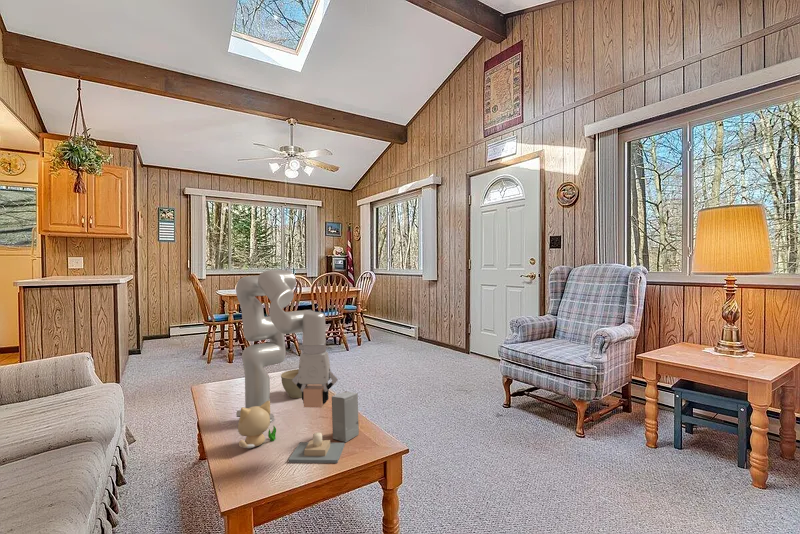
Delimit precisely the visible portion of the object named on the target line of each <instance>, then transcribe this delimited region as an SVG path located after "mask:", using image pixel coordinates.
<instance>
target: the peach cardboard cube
mask: <svg viewBox="0 0 800 534" xmlns="http://www.w3.org/2000/svg"><path fill="white" fill-rule="evenodd" d="M323 391H324V389H323V387H322V384H308V385H307V386H306V387H305V388H304V389H303V392H304V404H303V408H319V409H321V408H322V407H324V405H325V404H323Z"/></svg>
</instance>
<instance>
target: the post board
mask: <svg viewBox="0 0 800 534" xmlns="http://www.w3.org/2000/svg"><path fill="white" fill-rule="evenodd" d="M312 434H313V435H312V439H310V440H309V441H307V442H306V441H300V442H299V443H298V444H297V446H296V447H295V449H294V450H293V452H292V454H291V455H290V457H289V458H288V463H292V464H293V463H295V464H296V463H299V464H303V463H305V464H338V462H339V460H340V458H341V455H342V453H343V450H344V448H345V445H346V443H345V442H331V439H323V433H322V432H315V433H312Z"/></svg>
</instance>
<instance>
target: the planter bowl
mask: <svg viewBox="0 0 800 534" xmlns="http://www.w3.org/2000/svg"><path fill="white" fill-rule="evenodd" d="M298 371H299V368H296V369H291V370H287V371H284V372H282V373H281V374H280V378H281V384H282V387H283V389H284V391H285V393H287V396H288V397H289V398H290V399H291V398H292V399H302V392H301V391H300V389H299V388H298V387H297V385H296V384H295V383H294V382H293V381H292V379H293V378H294V377H295V376H296V375H297V374H298Z"/></svg>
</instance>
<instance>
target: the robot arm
mask: <svg viewBox="0 0 800 534" xmlns="http://www.w3.org/2000/svg"><path fill="white" fill-rule="evenodd" d="M296 285H297V278H296V276H295V274H294V272H292V271H290V270H289V269H288V270H287V269H279V270H278V269H277V270H275V269H271V270H265V271H263V272H261V273H259V275H246V276H243V277H240V278H239V279H238V280H237V282H236V286H235V292H236V298H237V300H238V303H239V307H240V309H241V318H242V319H241V320H242V330H243V331H242V332H243V336H244V339H245V340H246V341H248V342H258V341H265V340H269V341H268V342H264V343H256V344H251V345H249V346H247V347H245V348H244V350H242V354H241V361H242V365H243V371H244V394H245V395H244V405H245V407H244V408H250V407H254V406H261V405H262V404H264V403H265V402H266V401H270V402H271V400H270V399H271V397H270V396H271V392H270V391H271V390H270V389H271V387H270V386H271V385H270V376H269V375H270V374H269V373H268V371H266V370H265V368H266V367H268V366H274V365H278V364H280V363H282V362H284V361H285V359H286V341H285V335H289V334H296V333H297V334H298V333H302V344H301V345H299V346H298V350H300V351H301V352H302V353H300V355H299V363H298V369H299V371H298V374H297V375H296V376H295V377H294V378H293V379H292V381H293V382H294V383H295V384H296V385H297V387H298V388H299V389H300V391H301V392H302V397H301V400H302V403H303V405H304V392H303V389H304V388H305V387H306V386H307V385H308V384H322V387H323V389H324V391H323V404H324V405H325V404H326V403H327V402H328V401H329V397H330V396H329V390H330V389H331V388H332V387H333V386H334V385H335V384H336V383H337V382H338V380H339V379H338V377H336V375H335V374H334V373H333V372H332V371H331V363H330V357H329V356H330V355H329V352H328V351H327V347H326V346H327V344H326V343H327V341H326V340H327V339H326V315H325V313H323V312H321V311H315V310H312V309H304V310H293V311H292V310H291V311H285V310H284V309H285V308H286V307H287V306H288V305H290V304H291V303H292V301H293V299H294V295H295V294H294V291H293V289H295V287H296ZM265 296H266V297H267V298H268V299H269V301H270V302H271V303H270V305H269V310H268V312H269V316H265V313H264V306H263V304H262V303H261V301H260V300H259V299H258V298H257V297H265ZM329 380H331V382H329ZM240 412H241V409H240V410H239V409H237V410H236V415H235V416H236V418H240ZM273 421H275V415H274V414H273V413H271V412H270V424H271V423H272V422H273Z"/></svg>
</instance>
